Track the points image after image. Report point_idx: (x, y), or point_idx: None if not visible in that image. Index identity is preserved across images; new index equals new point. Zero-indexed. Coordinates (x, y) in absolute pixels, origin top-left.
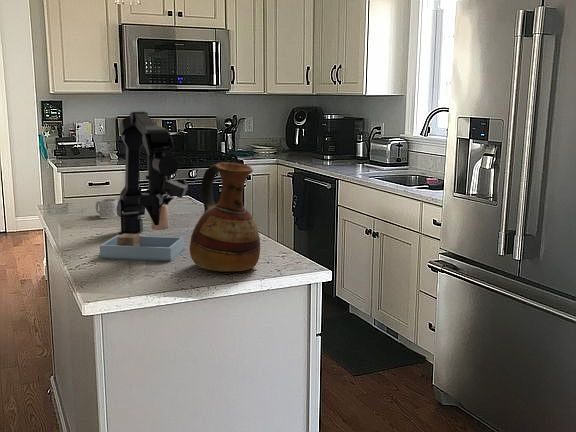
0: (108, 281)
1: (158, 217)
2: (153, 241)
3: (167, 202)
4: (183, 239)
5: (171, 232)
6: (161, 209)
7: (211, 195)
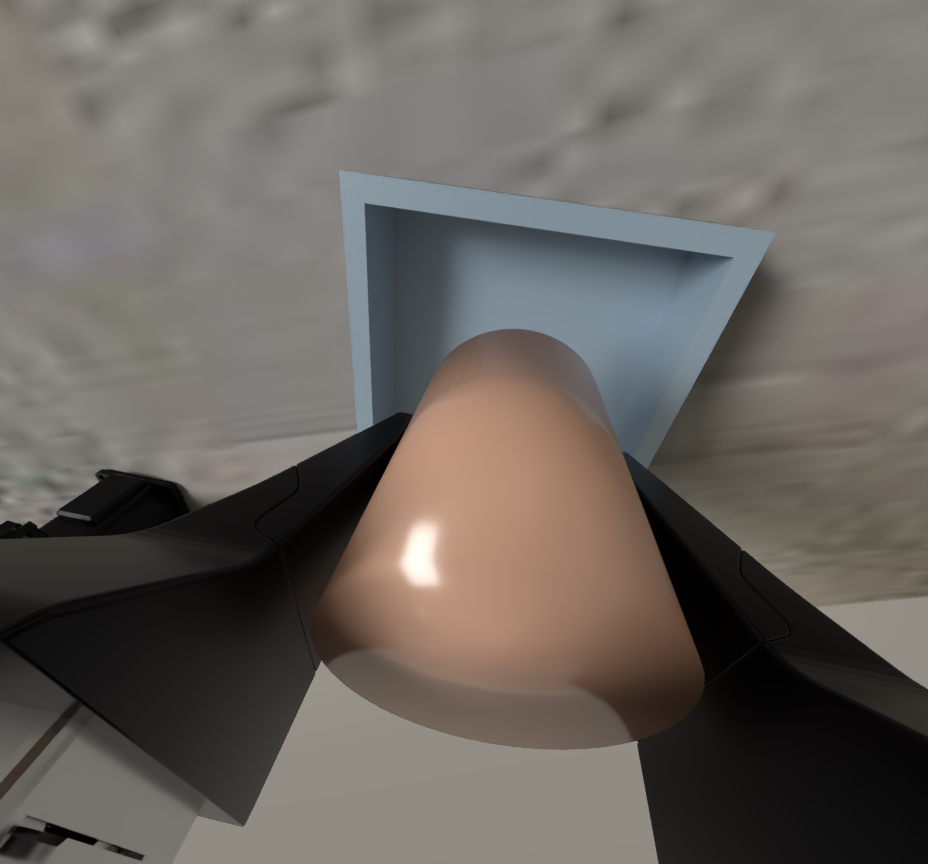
0: None
1: (709, 522)
2: (383, 406)
3: (221, 593)
4: (357, 172)
5: (37, 343)
6: (677, 600)
7: None
